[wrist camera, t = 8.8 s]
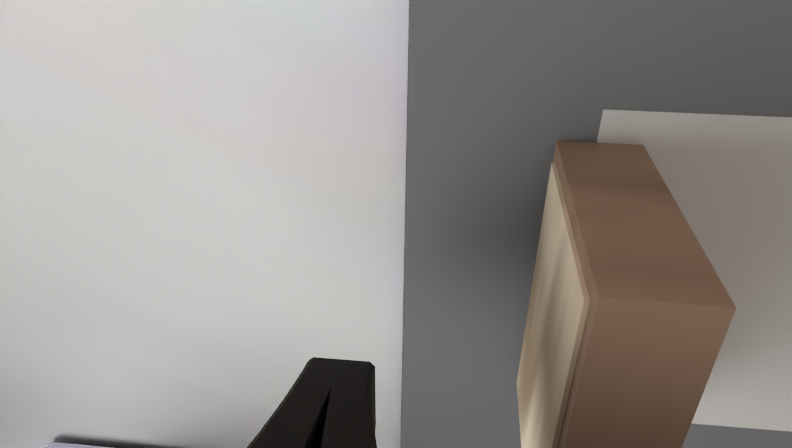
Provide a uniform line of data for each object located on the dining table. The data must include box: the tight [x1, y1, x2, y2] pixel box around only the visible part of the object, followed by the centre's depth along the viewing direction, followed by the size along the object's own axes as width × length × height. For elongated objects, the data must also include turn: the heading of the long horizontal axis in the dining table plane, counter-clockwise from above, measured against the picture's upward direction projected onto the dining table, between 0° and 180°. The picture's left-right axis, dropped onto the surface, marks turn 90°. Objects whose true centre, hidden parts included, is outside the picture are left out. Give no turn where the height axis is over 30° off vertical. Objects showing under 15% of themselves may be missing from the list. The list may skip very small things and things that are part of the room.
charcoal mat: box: [401, 0, 792, 448], centre depth 17 cm, size 16×13×1 cm
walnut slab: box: [517, 140, 736, 448], centre depth 14 cm, size 8×2×6 cm, turn 179°
